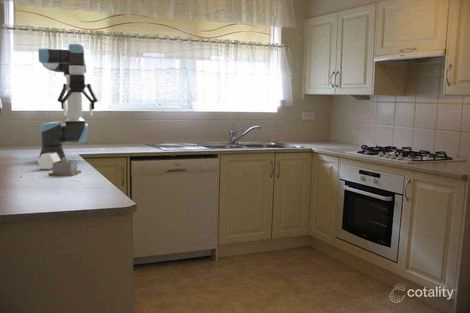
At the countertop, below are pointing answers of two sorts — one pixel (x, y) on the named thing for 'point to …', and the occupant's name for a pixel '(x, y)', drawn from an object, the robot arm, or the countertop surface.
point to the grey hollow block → (64, 167)
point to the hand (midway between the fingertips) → (78, 115)
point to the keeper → (64, 160)
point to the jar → (48, 160)
